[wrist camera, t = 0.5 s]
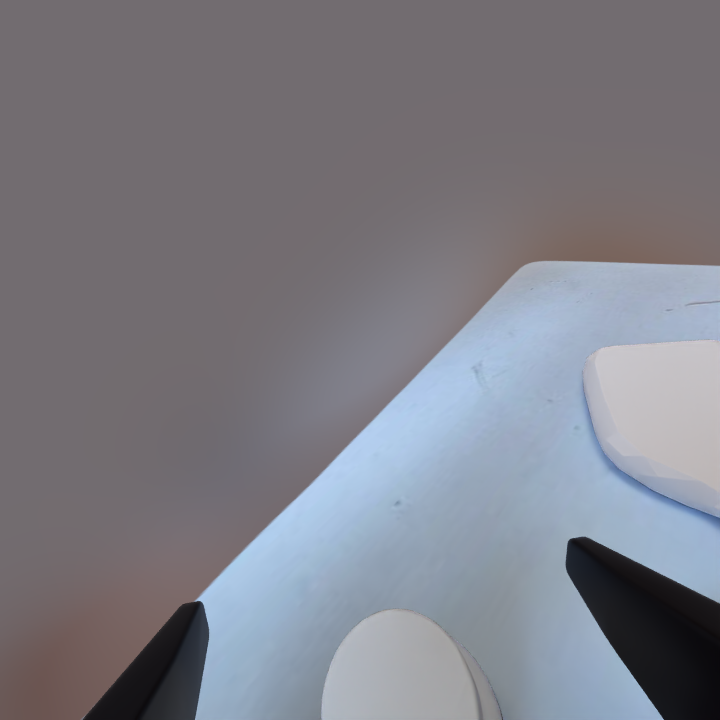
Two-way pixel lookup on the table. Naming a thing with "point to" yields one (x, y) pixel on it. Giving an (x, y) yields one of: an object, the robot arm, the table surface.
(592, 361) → the spray bottle
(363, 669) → the pill bottle
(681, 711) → the robot arm
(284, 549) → the table surface
